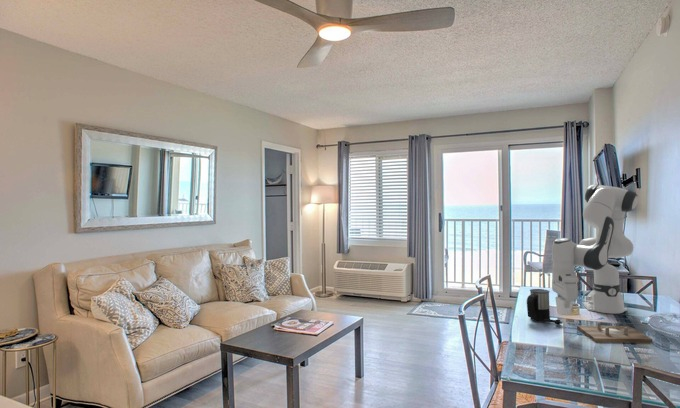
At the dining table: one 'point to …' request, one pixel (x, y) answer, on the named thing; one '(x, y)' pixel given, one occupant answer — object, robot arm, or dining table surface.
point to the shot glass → (563, 306)
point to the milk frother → (539, 306)
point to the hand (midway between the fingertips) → (564, 305)
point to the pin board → (614, 334)
